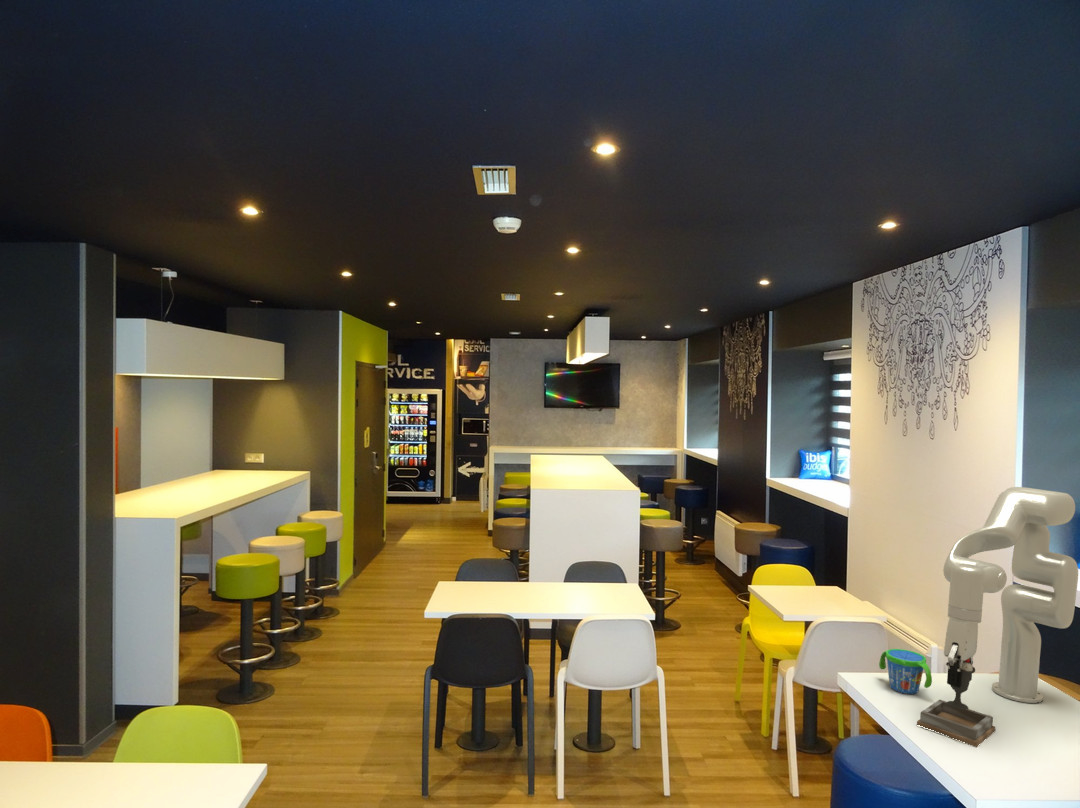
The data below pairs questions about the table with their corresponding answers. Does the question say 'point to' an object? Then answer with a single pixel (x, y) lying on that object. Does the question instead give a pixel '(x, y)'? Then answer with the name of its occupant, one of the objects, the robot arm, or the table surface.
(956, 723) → the stand
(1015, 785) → the table surface
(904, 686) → the snack cup
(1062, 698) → the table surface
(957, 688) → the sundae
